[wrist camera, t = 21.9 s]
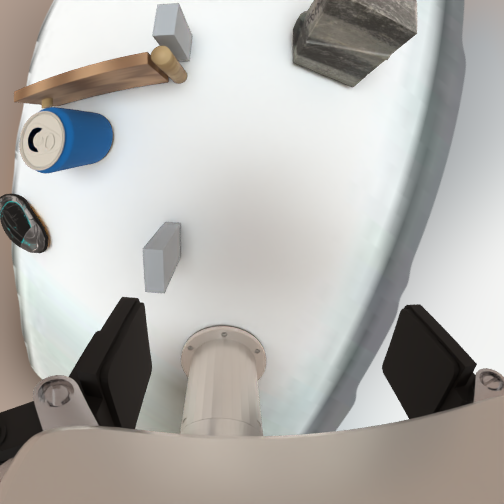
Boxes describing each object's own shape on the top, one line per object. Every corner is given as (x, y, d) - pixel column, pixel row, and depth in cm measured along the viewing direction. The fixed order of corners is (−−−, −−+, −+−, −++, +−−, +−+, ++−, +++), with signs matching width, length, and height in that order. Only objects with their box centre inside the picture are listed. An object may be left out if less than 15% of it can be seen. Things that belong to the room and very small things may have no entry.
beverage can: (77, 110, 32) (23, 104, 20) (120, 117, 33) (74, 109, 21) (67, 159, 34) (12, 169, 22) (109, 167, 35) (60, 180, 23)
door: (186, 64, 31) (170, 38, 22) (187, 87, 32) (170, 68, 23) (57, 91, 30) (12, 83, 21) (57, 112, 31) (12, 109, 22)
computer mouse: (8, 180, 34) (-9, 185, 30) (60, 228, 37) (45, 237, 33) (-5, 213, 35) (-21, 220, 31) (44, 260, 38) (30, 271, 34)
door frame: (180, 257, 39) (164, 293, 30) (165, 256, 39) (145, 291, 30) (192, 35, 30) (178, 3, 20) (176, 36, 30) (157, 4, 20)
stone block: (291, 32, 30) (280, 63, 31) (329, -45, 16) (319, -16, 16) (358, 60, 32) (351, 91, 32) (418, -1, 17) (418, 33, 18)
